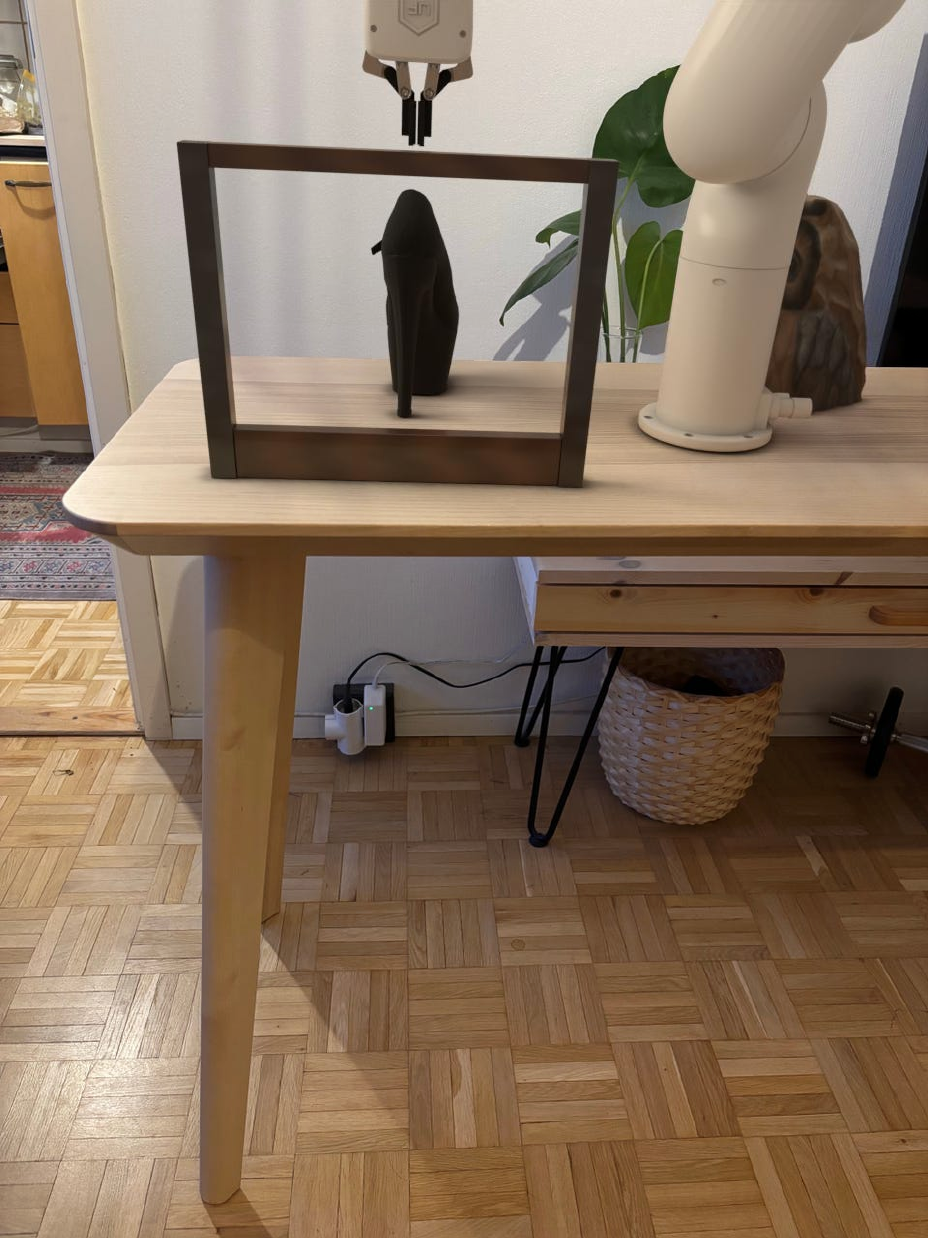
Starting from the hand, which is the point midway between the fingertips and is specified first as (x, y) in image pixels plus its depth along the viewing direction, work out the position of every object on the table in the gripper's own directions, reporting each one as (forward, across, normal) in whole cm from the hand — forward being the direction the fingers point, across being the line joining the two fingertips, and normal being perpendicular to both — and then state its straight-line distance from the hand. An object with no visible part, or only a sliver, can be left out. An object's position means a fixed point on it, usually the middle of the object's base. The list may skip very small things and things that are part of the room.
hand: (416, 144), depth 93 cm
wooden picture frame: (+22, -1, -33) cm, 40 cm away
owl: (+22, +42, -7) cm, 48 cm away
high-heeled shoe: (+22, 0, -10) cm, 25 cm away
